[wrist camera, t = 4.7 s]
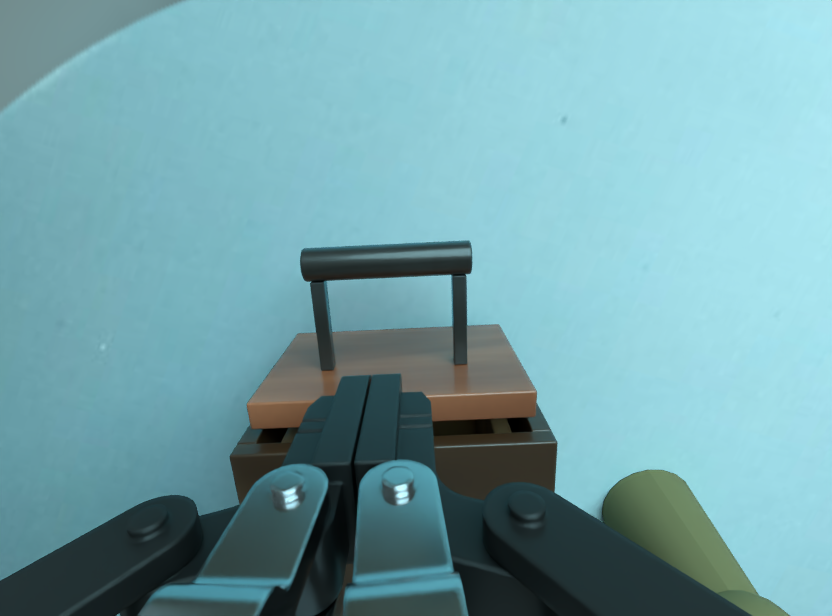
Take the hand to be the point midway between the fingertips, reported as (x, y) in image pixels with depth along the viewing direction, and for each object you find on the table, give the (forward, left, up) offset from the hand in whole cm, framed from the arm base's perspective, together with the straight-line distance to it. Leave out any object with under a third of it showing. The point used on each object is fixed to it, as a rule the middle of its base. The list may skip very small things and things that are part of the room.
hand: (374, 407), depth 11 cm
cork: (+16, -17, -14) cm, 27 cm away
